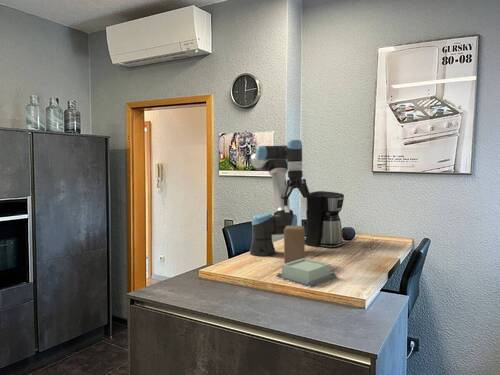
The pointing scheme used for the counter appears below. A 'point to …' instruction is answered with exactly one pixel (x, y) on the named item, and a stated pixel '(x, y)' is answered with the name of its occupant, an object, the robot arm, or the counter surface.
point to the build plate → (306, 272)
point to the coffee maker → (324, 219)
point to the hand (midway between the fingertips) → (296, 211)
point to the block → (294, 243)
